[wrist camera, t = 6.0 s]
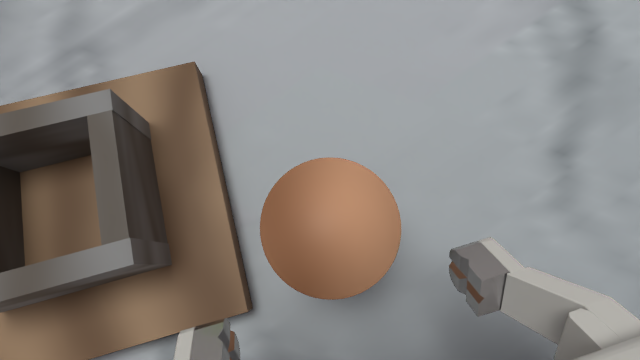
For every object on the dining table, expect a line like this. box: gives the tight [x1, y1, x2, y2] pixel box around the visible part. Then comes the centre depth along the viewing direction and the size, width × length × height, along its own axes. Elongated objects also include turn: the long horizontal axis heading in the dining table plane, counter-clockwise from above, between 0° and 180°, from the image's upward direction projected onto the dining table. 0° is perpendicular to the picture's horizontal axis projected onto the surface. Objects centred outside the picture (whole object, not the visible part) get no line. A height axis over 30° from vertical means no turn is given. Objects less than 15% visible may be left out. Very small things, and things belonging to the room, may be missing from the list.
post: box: [260, 158, 401, 300], centre depth 15 cm, size 4×4×10 cm
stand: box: [0, 62, 253, 360], centre depth 18 cm, size 16×16×6 cm
